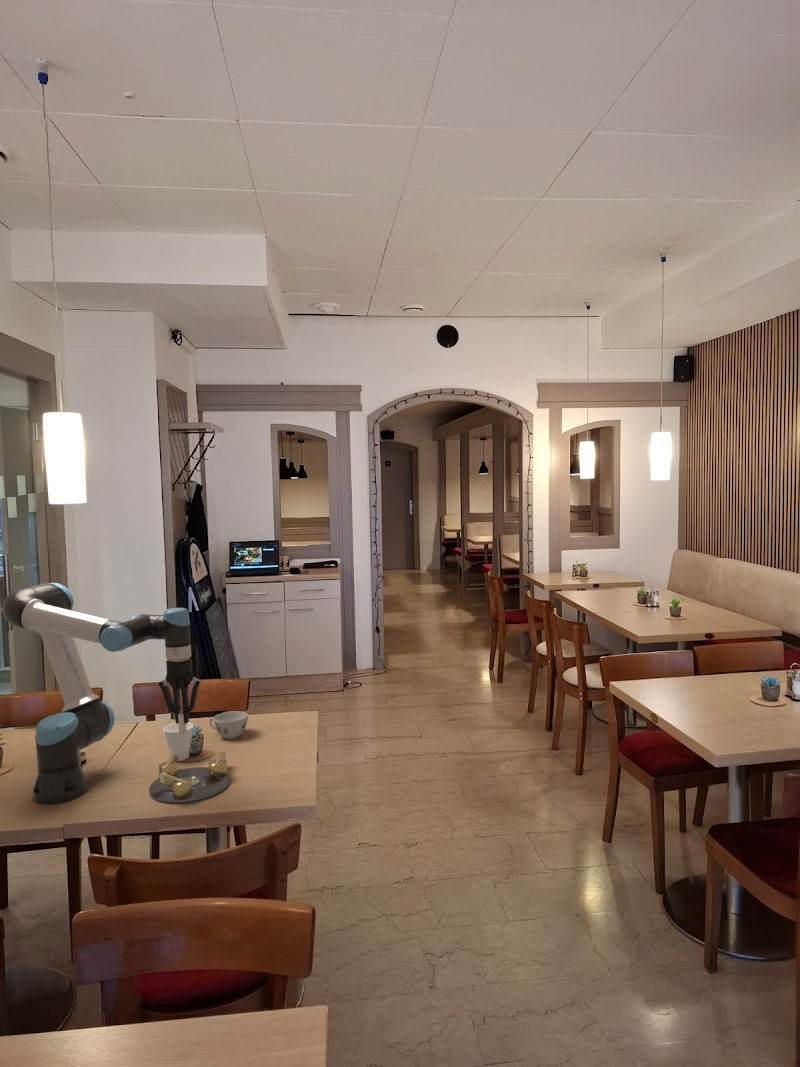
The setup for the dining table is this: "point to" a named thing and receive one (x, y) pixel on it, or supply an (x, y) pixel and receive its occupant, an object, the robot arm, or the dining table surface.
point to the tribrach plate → (200, 786)
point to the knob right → (218, 766)
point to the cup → (178, 740)
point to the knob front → (177, 785)
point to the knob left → (170, 765)
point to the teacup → (230, 723)
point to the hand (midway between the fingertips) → (183, 733)
